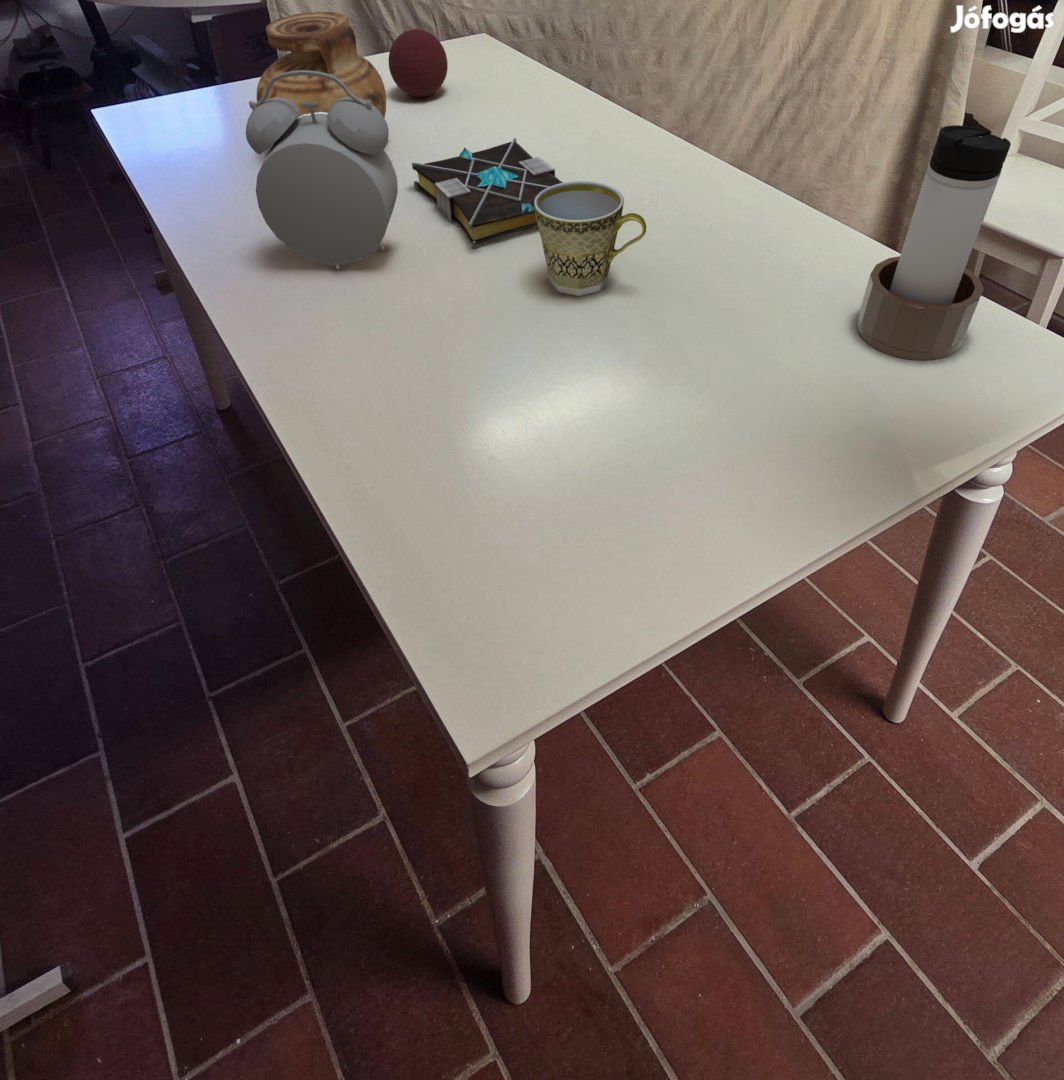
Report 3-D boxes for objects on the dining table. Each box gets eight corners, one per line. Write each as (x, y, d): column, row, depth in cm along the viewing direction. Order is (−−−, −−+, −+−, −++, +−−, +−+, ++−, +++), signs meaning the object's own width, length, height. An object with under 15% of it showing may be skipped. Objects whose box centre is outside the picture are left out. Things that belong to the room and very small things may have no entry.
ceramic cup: (523, 294, 98) (519, 212, 90) (556, 255, 104) (555, 175, 96) (627, 315, 94) (631, 231, 86) (655, 273, 100) (661, 191, 92)
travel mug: (865, 318, 90) (922, 125, 75) (913, 303, 91) (977, 111, 77) (906, 347, 86) (974, 150, 71) (955, 331, 87) (1031, 134, 73)
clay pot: (229, 149, 123) (226, -9, 114) (314, 154, 138) (317, 15, 129) (329, 169, 116) (334, 3, 107) (407, 173, 131) (417, 27, 122)
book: (588, 219, 110) (589, 182, 106) (473, 251, 105) (469, 213, 101) (517, 161, 123) (516, 126, 120) (412, 187, 119) (407, 151, 115)
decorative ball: (454, 102, 141) (448, 36, 134) (396, 108, 140) (386, 42, 133) (446, 82, 148) (439, 18, 141) (390, 88, 147) (381, 24, 139)
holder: (983, 334, 88) (1004, 284, 84) (921, 372, 84) (940, 321, 80) (898, 294, 95) (913, 244, 90) (836, 328, 90) (849, 277, 86)
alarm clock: (413, 243, 107) (385, 55, 91) (400, 277, 101) (368, 83, 85) (290, 242, 109) (241, 57, 93) (271, 276, 103) (215, 84, 87)
